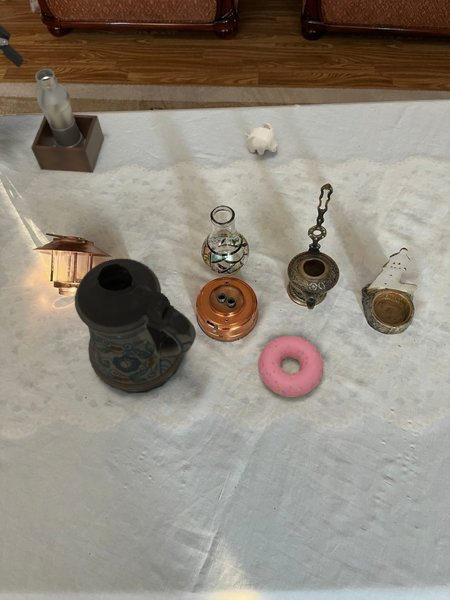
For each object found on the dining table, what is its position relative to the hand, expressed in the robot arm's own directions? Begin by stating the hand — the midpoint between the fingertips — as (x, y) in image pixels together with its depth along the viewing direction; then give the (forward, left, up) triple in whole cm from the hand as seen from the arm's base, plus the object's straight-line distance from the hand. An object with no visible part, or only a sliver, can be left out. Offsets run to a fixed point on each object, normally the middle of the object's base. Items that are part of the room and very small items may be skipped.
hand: (9, 77), depth 102 cm
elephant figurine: (+49, +4, -19) cm, 53 cm away
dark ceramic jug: (+33, -47, -19) cm, 61 cm away
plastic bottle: (+8, -1, -18) cm, 20 cm away
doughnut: (+58, -48, -19) cm, 78 cm away
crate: (+8, -2, -19) cm, 21 cm away
